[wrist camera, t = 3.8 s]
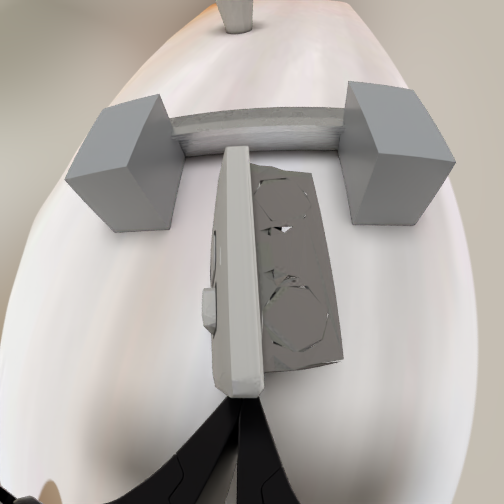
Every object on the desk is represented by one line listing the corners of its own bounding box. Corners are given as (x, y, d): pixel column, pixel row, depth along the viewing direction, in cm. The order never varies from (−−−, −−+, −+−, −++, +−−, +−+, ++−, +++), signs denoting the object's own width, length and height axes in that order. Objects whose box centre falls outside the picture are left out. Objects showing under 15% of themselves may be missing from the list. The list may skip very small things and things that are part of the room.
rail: (399, 161, 20) (411, 132, 17) (128, 172, 23) (112, 147, 20) (391, 143, 21) (401, 114, 18) (135, 154, 24) (121, 128, 21)
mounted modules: (414, 225, 18) (455, 162, 11) (114, 232, 20) (64, 179, 14) (391, 152, 21) (412, 88, 14) (136, 163, 23) (103, 107, 17)
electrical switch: (212, 244, 19) (184, 141, 10) (289, 240, 19) (311, 135, 10) (215, 387, 15) (168, 402, 6) (303, 382, 15) (360, 389, 6)
